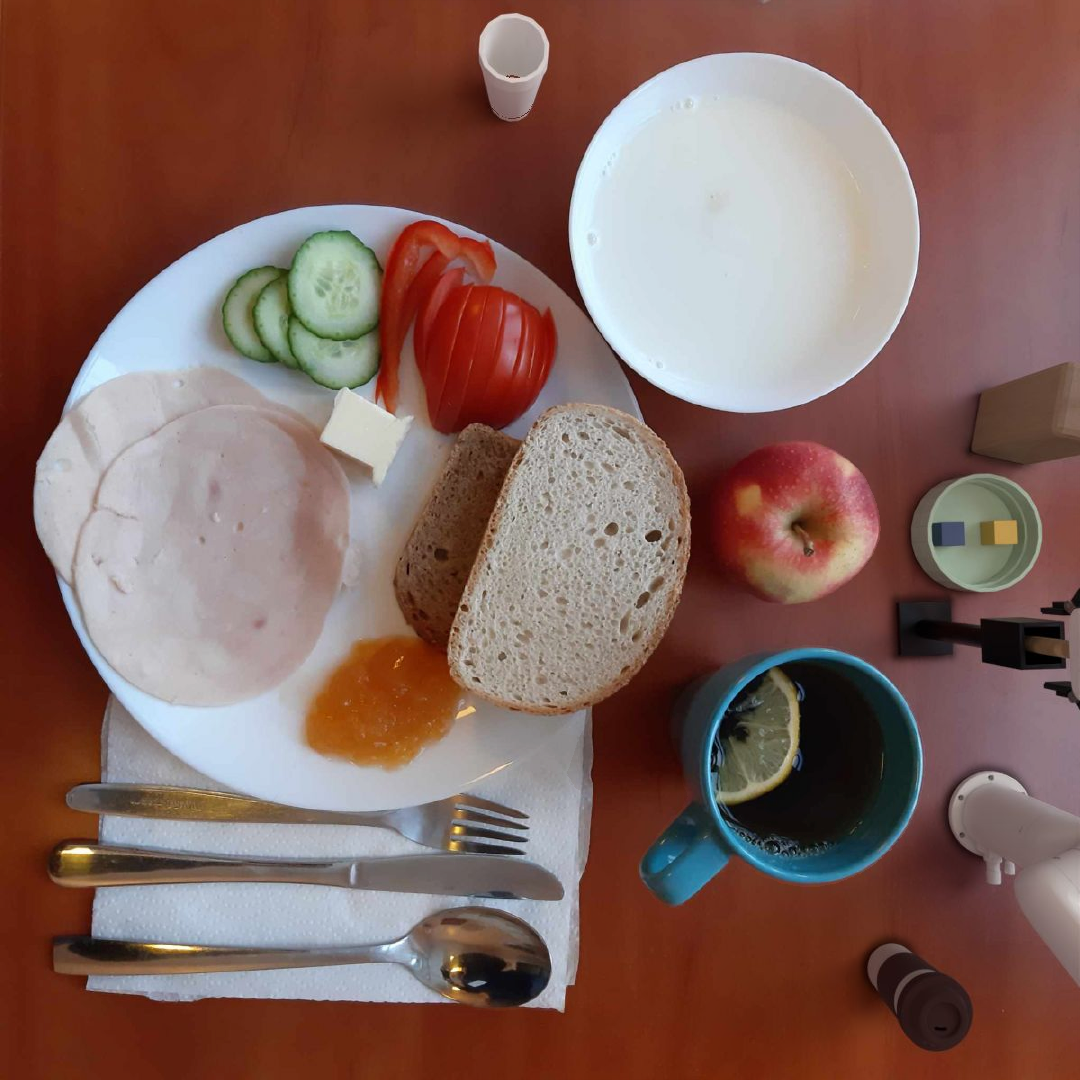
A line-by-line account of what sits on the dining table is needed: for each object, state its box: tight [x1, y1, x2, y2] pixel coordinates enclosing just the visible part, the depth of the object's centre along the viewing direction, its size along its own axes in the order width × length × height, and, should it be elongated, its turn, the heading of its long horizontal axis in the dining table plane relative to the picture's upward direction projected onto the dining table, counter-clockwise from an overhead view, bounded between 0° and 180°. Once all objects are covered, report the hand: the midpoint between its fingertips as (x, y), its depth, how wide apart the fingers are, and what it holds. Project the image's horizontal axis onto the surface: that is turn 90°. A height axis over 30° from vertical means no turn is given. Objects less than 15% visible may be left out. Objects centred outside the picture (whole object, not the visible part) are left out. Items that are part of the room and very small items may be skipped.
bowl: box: [910, 473, 1043, 593], centre depth 126 cm, size 17×17×6 cm
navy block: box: [931, 522, 965, 546], centre depth 127 cm, size 4×4×4 cm
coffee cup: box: [867, 943, 974, 1053], centre depth 119 cm, size 10×10×15 cm
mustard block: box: [980, 520, 1018, 545], centre depth 127 cm, size 4×4×4 cm
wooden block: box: [971, 360, 1080, 466], centre depth 120 cm, size 10×10×20 cm
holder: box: [895, 600, 1067, 671], centre depth 115 cm, size 8×8×28 cm
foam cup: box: [478, 12, 550, 123], centre depth 120 cm, size 10×9×13 cm
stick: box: [1024, 635, 1070, 660], centre depth 101 cm, size 2×2×14 cm
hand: (1054, 647), depth 99 cm, fingers open, 8 cm apart
